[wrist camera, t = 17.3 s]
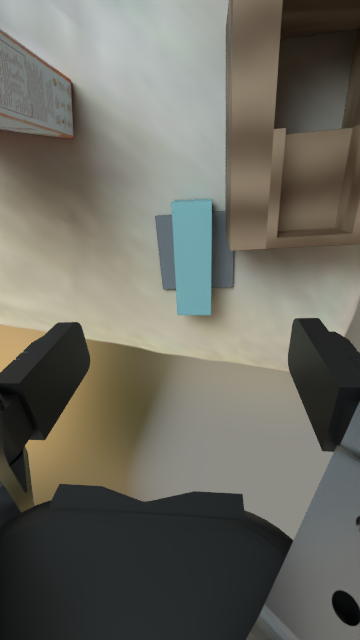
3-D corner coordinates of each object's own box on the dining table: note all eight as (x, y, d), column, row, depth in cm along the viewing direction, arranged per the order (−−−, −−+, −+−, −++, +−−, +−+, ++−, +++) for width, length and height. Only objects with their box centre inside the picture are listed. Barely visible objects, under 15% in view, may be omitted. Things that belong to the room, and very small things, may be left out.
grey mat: (156, 215, 35) (155, 216, 35) (233, 210, 34) (234, 210, 34) (163, 287, 40) (163, 289, 39) (232, 285, 39) (232, 286, 38)
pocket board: (226, 26, 27) (233, -41, 19) (402, 0, 25) (494, -86, 17) (225, 235, 36) (230, 250, 28) (354, 227, 34) (400, 241, 26)
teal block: (175, 200, 34) (171, 202, 30) (211, 198, 33) (211, 200, 30) (180, 303, 40) (177, 315, 36) (210, 303, 39) (210, 315, 36)
